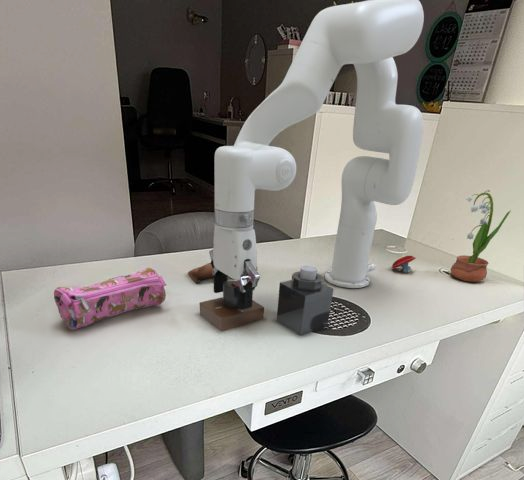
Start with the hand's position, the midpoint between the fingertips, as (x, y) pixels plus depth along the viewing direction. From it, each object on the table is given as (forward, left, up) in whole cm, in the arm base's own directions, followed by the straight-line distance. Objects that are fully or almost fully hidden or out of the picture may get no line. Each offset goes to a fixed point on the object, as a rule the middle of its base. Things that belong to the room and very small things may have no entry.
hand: (232, 299), depth 84 cm
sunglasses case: (-12, -23, -4) cm, 26 cm away
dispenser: (-11, +11, -4) cm, 16 cm away
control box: (0, 0, -4) cm, 4 cm away
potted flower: (-76, +13, -4) cm, 77 cm away
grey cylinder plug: (-11, +11, +6) cm, 17 cm away
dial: (0, 0, -1) cm, 1 cm away
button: (-63, 0, -4) cm, 63 cm away
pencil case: (+21, -13, -4) cm, 25 cm away
